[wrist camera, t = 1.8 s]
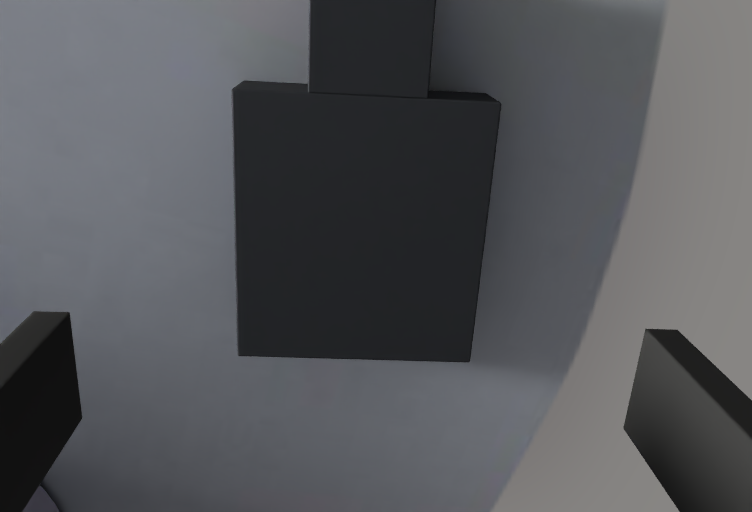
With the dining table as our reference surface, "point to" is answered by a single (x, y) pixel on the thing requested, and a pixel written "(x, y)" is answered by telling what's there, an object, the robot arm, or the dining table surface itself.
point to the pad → (361, 195)
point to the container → (40, 502)
